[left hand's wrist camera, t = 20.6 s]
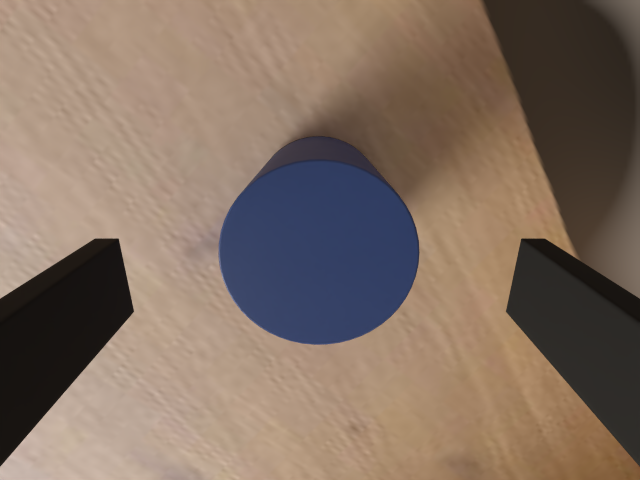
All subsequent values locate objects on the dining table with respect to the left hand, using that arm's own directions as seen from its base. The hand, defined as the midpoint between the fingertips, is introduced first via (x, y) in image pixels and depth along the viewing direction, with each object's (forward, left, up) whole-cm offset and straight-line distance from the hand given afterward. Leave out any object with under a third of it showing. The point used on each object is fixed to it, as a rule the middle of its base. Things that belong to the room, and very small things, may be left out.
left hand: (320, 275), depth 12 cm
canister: (0, 0, -12) cm, 12 cm away
